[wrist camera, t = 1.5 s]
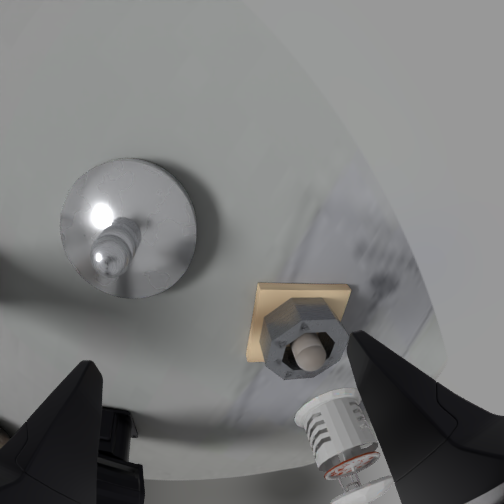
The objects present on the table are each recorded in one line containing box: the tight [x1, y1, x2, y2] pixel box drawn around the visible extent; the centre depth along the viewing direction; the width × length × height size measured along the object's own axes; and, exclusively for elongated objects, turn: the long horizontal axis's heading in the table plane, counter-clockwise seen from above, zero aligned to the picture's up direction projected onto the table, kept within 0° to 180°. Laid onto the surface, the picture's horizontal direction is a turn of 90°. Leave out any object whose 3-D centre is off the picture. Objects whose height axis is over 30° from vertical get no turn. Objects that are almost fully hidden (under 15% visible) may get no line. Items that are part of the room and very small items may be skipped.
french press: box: [294, 388, 394, 504], centre depth 23 cm, size 10×12×25 cm
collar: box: [259, 297, 350, 380], centre depth 23 cm, size 7×7×3 cm
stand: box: [246, 283, 351, 371], centre depth 23 cm, size 8×8×6 cm
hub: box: [60, 158, 197, 298], centre depth 17 cm, size 10×10×6 cm
